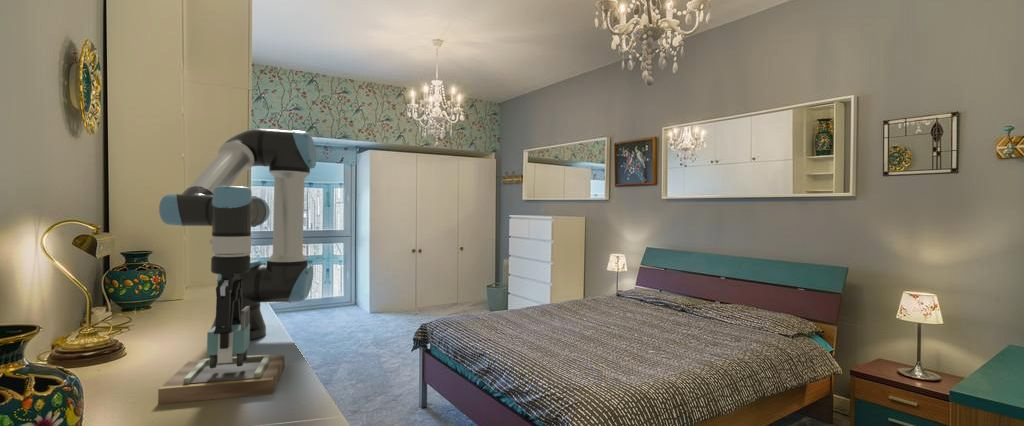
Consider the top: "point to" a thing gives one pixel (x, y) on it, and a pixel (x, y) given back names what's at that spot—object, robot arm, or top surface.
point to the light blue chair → (239, 340)
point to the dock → (223, 379)
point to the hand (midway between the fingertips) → (228, 357)
